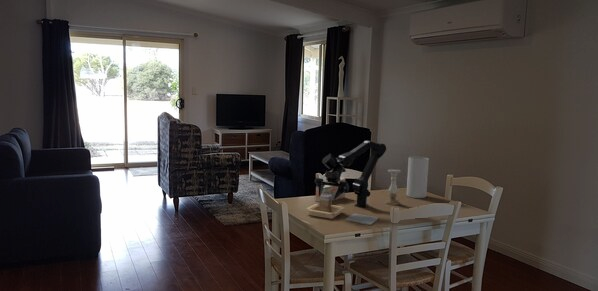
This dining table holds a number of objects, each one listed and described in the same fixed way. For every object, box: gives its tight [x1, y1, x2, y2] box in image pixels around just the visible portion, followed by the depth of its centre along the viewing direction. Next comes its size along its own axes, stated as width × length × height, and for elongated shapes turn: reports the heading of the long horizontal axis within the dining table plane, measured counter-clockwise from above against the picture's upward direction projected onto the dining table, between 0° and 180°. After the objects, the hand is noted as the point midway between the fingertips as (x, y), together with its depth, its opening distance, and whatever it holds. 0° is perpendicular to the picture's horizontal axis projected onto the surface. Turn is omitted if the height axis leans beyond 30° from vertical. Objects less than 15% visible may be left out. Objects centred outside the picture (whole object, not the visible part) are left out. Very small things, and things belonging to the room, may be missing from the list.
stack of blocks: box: [315, 177, 346, 203], centre depth 278 cm, size 21×6×12 cm, turn 138°
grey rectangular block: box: [318, 194, 333, 213], centre depth 242 cm, size 5×5×10 cm
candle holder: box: [384, 168, 402, 206], centre depth 272 cm, size 9×9×20 cm
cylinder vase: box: [406, 156, 430, 199], centre depth 292 cm, size 12×12×25 cm
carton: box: [305, 203, 345, 219], centre depth 242 cm, size 17×17×4 cm
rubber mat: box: [344, 213, 380, 226], centre depth 235 cm, size 14×14×1 cm
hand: (326, 197), depth 243 cm, fingers open, 9 cm apart
